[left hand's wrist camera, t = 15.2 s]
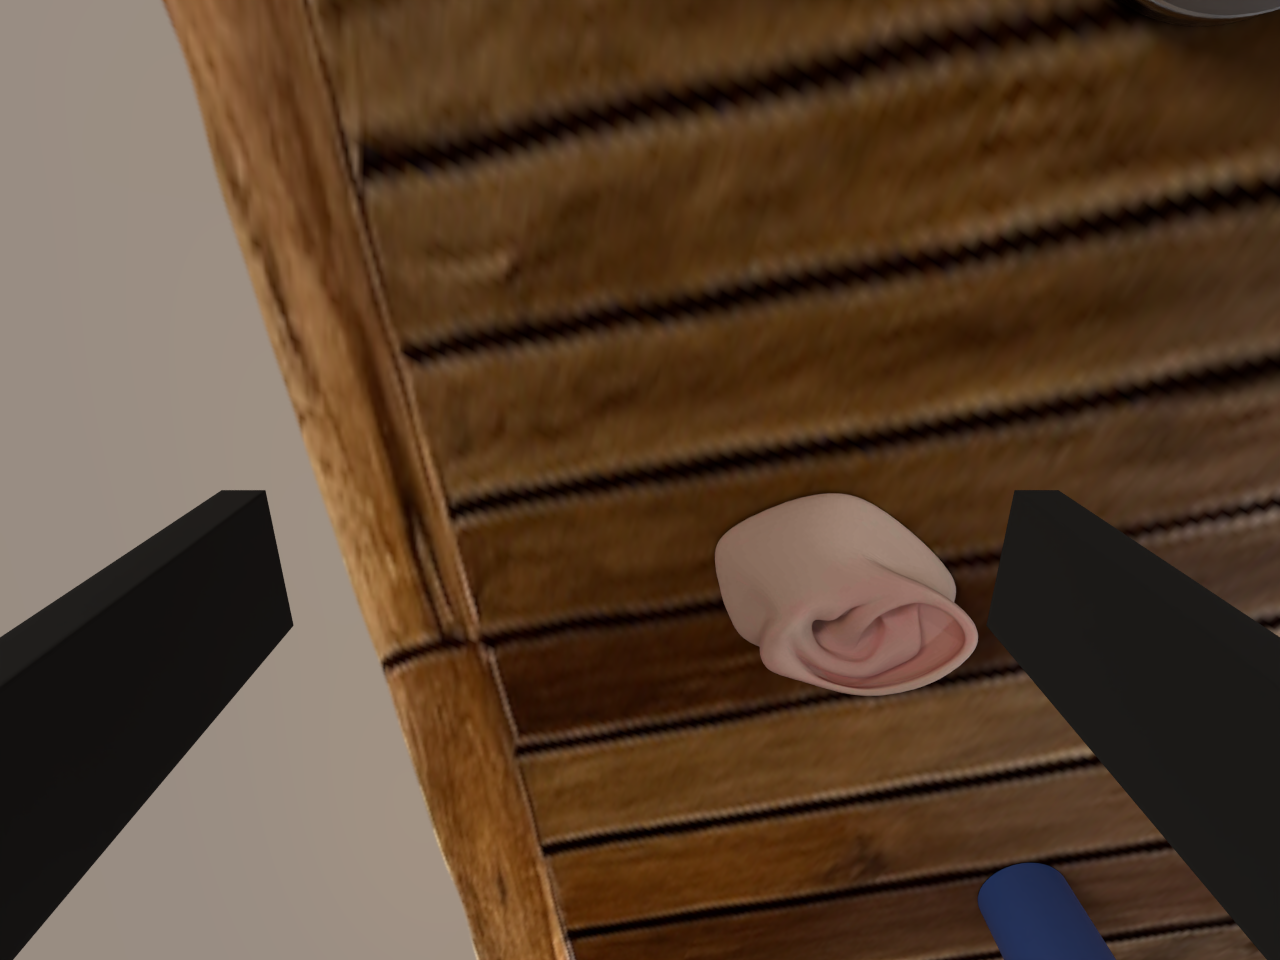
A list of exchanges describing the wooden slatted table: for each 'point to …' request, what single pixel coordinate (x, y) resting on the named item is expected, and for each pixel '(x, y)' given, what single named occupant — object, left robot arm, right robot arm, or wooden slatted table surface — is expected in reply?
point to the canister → (1038, 916)
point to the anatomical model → (842, 597)
